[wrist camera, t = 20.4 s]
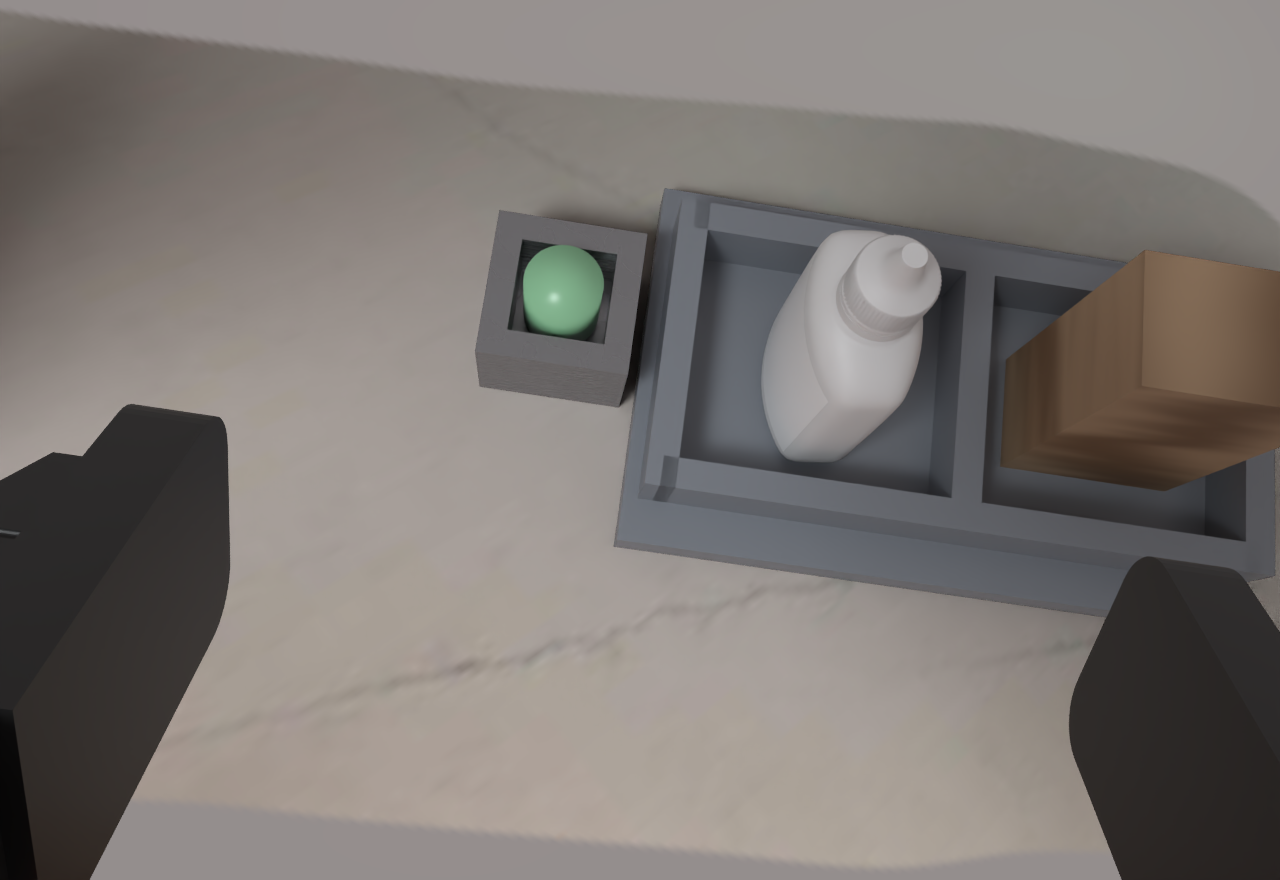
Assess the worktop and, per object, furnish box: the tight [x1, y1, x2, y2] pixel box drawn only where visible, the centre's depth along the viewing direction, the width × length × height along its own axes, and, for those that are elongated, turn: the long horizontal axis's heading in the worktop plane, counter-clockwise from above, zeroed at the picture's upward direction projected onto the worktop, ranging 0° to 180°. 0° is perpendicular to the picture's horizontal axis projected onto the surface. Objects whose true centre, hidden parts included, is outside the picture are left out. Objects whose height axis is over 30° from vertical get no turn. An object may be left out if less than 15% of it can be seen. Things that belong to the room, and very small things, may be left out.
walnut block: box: [1000, 250, 1280, 491], centre depth 38 cm, size 6×4×10 cm, turn 83°
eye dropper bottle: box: [761, 230, 942, 462], centre depth 36 cm, size 4×6×12 cm
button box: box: [475, 210, 647, 407], centre depth 41 cm, size 5×5×4 cm
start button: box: [523, 245, 604, 341], centre depth 40 cm, size 3×3×3 cm
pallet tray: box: [614, 188, 1275, 617], centre depth 42 cm, size 22×13×4 cm, turn 83°
